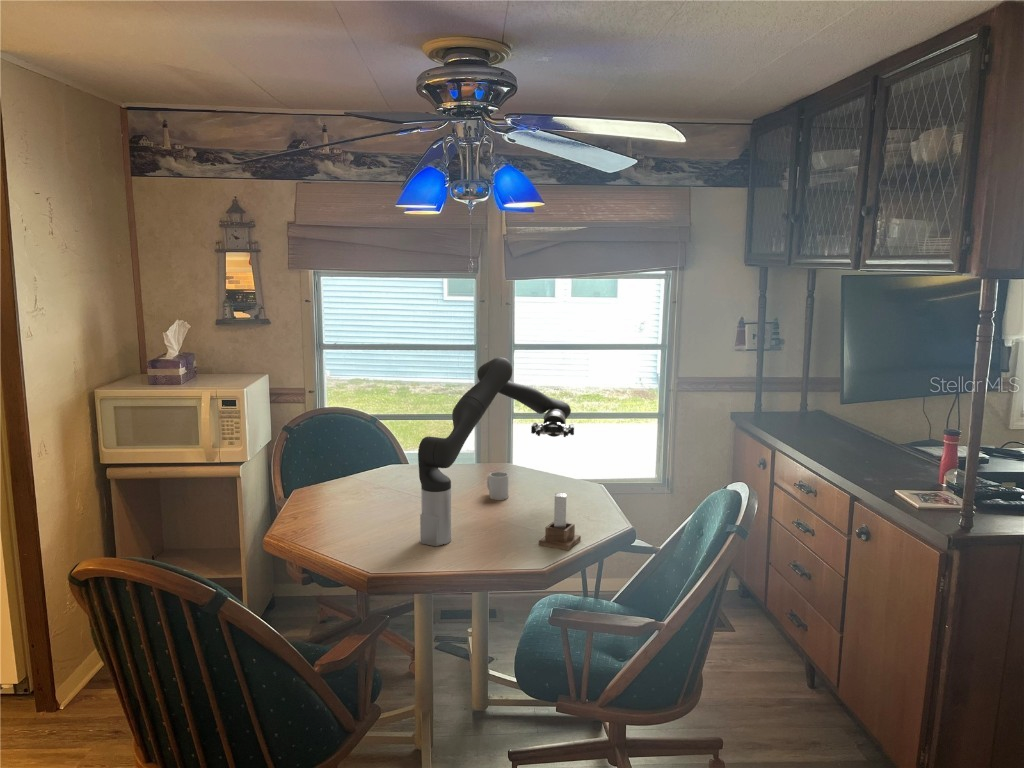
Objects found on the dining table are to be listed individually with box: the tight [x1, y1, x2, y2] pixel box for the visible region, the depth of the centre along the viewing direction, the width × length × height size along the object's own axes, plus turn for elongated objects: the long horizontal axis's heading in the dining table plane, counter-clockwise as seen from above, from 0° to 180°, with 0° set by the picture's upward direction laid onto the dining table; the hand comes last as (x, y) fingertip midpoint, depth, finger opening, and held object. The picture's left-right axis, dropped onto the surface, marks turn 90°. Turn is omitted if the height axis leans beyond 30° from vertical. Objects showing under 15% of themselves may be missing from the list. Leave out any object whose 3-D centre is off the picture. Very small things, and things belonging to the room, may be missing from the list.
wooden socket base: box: [538, 520, 582, 551], centre depth 236 cm, size 10×10×6 cm
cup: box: [486, 471, 510, 501], centre depth 282 cm, size 7×10×9 cm
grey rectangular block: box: [553, 492, 567, 530], centre depth 235 cm, size 4×4×14 cm
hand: (551, 433), depth 245 cm, fingers open, 8 cm apart
